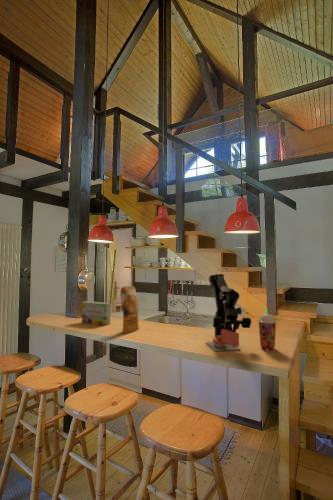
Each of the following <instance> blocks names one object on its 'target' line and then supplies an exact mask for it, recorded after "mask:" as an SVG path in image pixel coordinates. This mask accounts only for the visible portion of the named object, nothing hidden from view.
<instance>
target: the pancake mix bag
mask: <svg viewBox="0 0 333 500" xmlns="http://www.w3.org/2000/svg"><path fill="white" fill-rule="evenodd" d="M120 299H121V309H122V318H123V319H122V321H123V322H122V326H123V327H122V334H129V333H130V334H131V333H133V332H135V331H138V330H139V329H140V327H139V305H138V304H139V303H138V295H137V289H136V287H135V285H131V286H130V285H129V286H123V287H121V288H120Z"/></svg>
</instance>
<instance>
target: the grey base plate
mask: <svg viewBox="0 0 333 500" xmlns="http://www.w3.org/2000/svg"><path fill="white" fill-rule="evenodd" d="M205 343H206V345H207V344H208V345H209V346H210V347H209V346H208V345H207V346H208V347H209V348H210V349H212V350H213V351H214V352H215V351H220V352H234V351H235V350H239V351H241V348H240V347H239V346H237V347H236V346H233V345H230V344H227V343H226V344H215V343H213V341H208V342H207V341H206V342H205ZM235 352H236V351H235Z"/></svg>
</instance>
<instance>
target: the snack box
mask: <svg viewBox="0 0 333 500" xmlns="http://www.w3.org/2000/svg"><path fill="white" fill-rule="evenodd" d="M81 323H82V324H83V323H84V324H90V325H91V324H92V325H99V326H109V325H110V324H111V302H101V301H89V300H88V301H87V300H85V301H82V302H81Z"/></svg>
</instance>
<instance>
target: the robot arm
mask: <svg viewBox="0 0 333 500" xmlns="http://www.w3.org/2000/svg"><path fill="white" fill-rule="evenodd" d="M208 283H209V284H210V287H211V288H212V289H213V293H214V298H215V305H216V306H215V307H216V312H215V315H214V317H213V319H212V327H213V328H214V335H215V336H216V337H217V336H218V335H221V329H226V330H229V331H233V332H236V333H237V330H239V328H240V326H241V327H242V328H243V329H249V328H251V324H252V319H251V318H250V317H242V318H241V319H239V315H242V307H236V305H237V303H238V301H239V299H240V294H239V293H238V292H237V291H236V290H235V289H234V288H231V287H228V284H227V282H226V278H225V275H224V273H215V274H211V275H209V277H208Z"/></svg>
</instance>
